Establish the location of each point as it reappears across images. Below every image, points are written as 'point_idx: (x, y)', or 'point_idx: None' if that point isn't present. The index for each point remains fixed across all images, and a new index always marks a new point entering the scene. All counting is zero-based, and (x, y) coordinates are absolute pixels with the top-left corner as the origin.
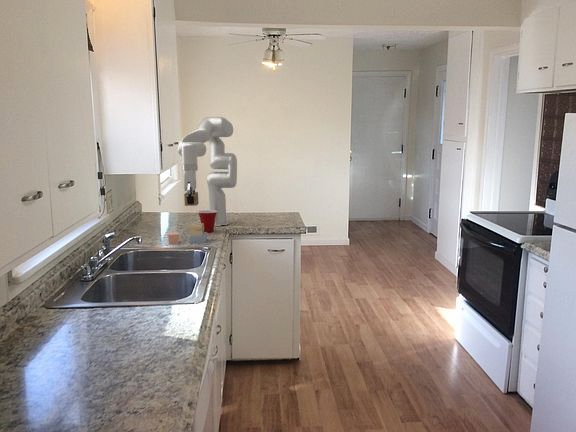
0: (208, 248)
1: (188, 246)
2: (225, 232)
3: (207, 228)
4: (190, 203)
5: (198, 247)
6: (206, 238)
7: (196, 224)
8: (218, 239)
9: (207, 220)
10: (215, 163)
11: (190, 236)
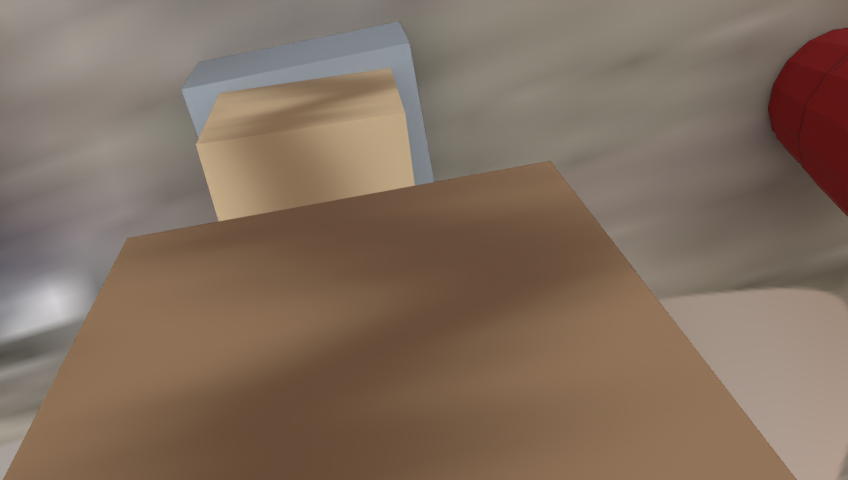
0: (20, 339)
1: (32, 103)
2: (747, 285)
3: (792, 125)
4: None
5: (25, 232)
6: None
7: None
8: None
9: (845, 182)
10: None
11: (188, 103)
